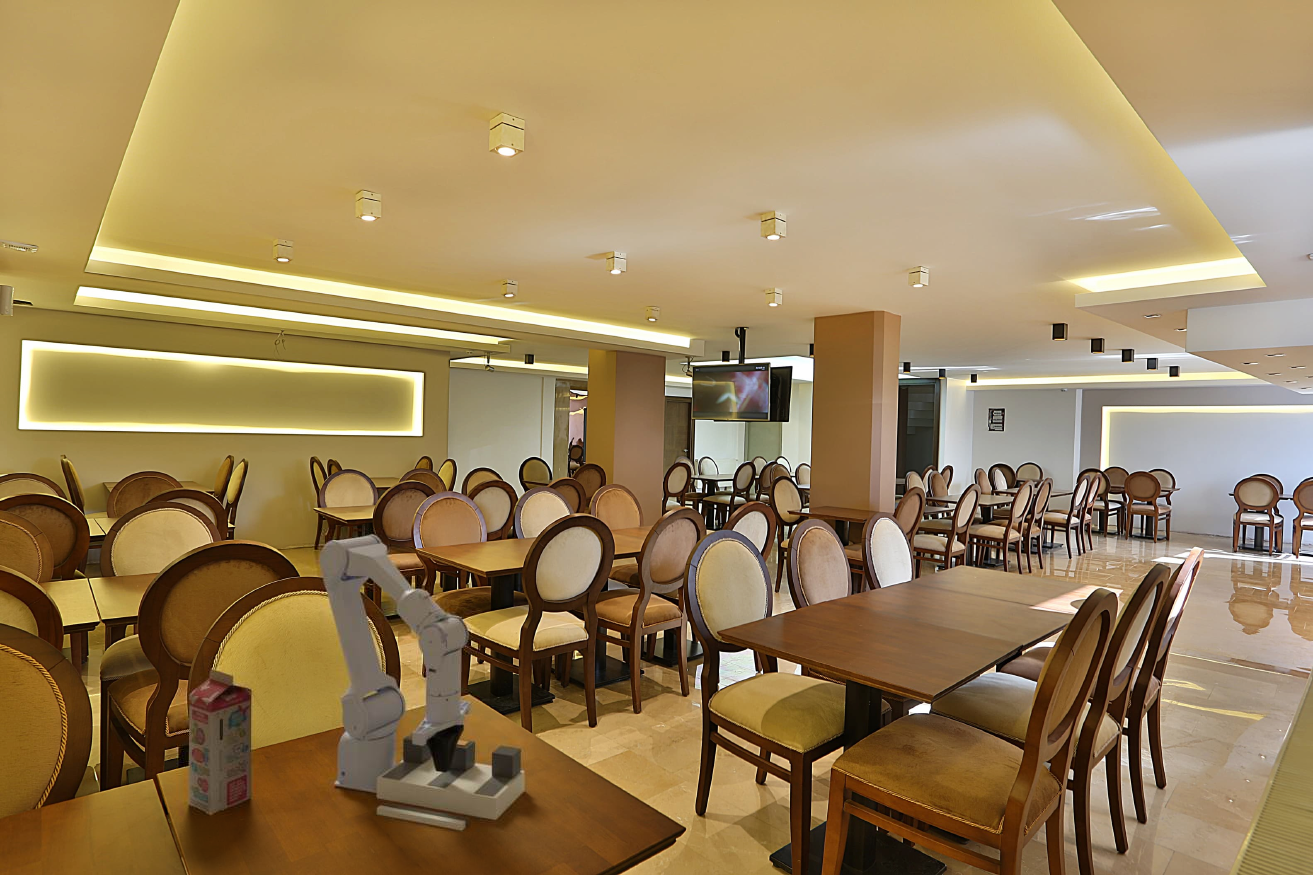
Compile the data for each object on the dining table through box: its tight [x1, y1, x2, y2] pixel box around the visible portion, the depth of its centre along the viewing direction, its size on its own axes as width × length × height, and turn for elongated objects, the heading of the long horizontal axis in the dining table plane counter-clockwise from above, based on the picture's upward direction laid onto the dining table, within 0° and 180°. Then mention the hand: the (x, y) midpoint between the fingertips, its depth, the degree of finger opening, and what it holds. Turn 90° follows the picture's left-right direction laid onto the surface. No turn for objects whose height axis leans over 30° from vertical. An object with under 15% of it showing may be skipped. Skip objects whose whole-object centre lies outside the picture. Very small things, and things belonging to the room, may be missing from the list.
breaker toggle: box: [450, 738, 476, 771], centre depth 127 cm, size 4×3×4 cm
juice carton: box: [188, 668, 253, 814], centre depth 121 cm, size 7×7×22 cm
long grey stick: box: [376, 802, 469, 831], centre depth 116 cm, size 16×2×1 cm, turn 73°
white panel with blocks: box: [376, 732, 526, 821], centre depth 124 cm, size 23×10×8 cm, turn 73°
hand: (442, 770), depth 121 cm, fingers closed
